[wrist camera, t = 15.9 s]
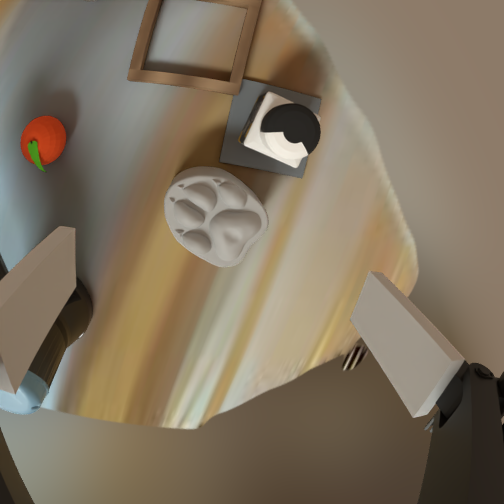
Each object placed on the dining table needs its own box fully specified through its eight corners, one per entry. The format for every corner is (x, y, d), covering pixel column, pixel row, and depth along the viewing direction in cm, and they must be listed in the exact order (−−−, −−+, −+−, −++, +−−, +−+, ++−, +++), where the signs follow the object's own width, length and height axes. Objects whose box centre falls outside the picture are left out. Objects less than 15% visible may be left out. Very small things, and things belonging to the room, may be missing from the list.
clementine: (79, 160, 39) (59, 168, 33) (42, 173, 39) (19, 183, 33) (69, 108, 36) (47, 108, 30) (31, 124, 36) (6, 127, 29)
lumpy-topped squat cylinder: (225, 255, 49) (230, 282, 41) (153, 207, 44) (143, 227, 36) (268, 201, 46) (282, 219, 38) (196, 148, 42) (193, 154, 34)
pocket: (130, 81, 36) (126, 79, 35) (156, -12, 31) (154, -17, 29) (237, 96, 39) (238, 95, 38) (260, 3, 34) (262, -2, 32)
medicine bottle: (258, 95, 39) (277, 85, 28) (304, 116, 41) (338, 117, 30) (237, 141, 41) (248, 148, 31) (283, 161, 43) (310, 176, 33)
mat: (219, 161, 43) (219, 161, 42) (237, 78, 38) (237, 77, 38) (301, 177, 45) (302, 178, 45) (319, 99, 41) (321, 99, 40)
